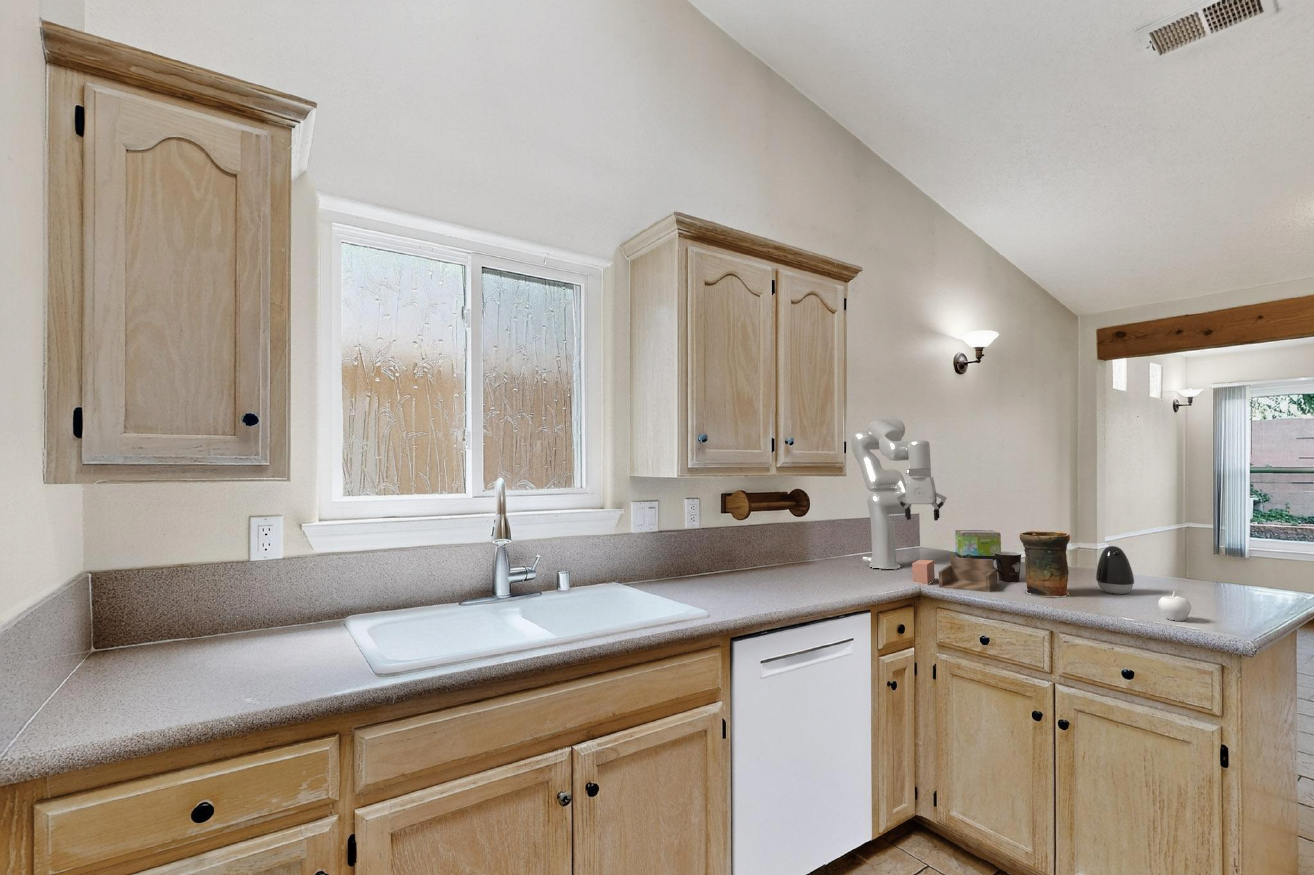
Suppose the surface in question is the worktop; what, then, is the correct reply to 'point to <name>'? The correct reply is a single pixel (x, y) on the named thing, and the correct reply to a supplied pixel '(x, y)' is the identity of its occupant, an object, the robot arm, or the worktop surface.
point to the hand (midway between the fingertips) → (922, 519)
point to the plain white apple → (1174, 607)
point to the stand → (969, 575)
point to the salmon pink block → (923, 571)
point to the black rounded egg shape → (1114, 571)
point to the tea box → (977, 544)
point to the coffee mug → (1008, 566)
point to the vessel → (1046, 562)
